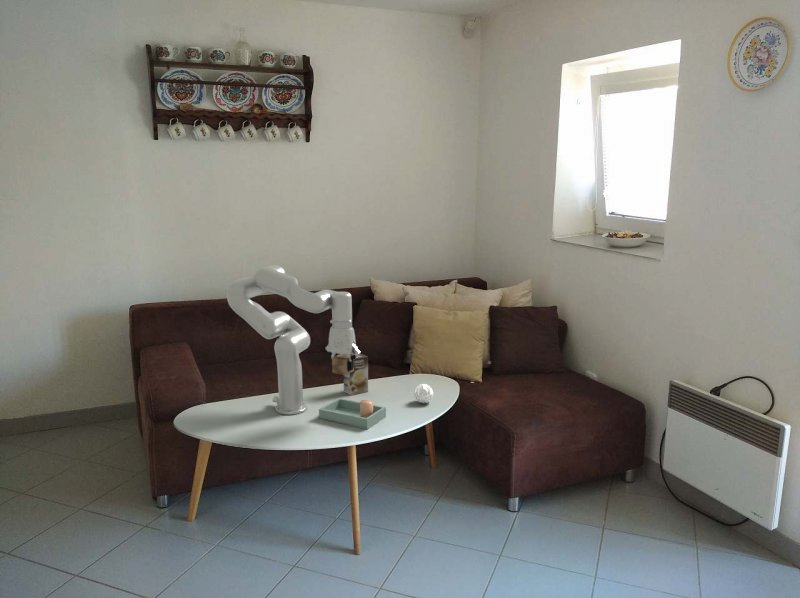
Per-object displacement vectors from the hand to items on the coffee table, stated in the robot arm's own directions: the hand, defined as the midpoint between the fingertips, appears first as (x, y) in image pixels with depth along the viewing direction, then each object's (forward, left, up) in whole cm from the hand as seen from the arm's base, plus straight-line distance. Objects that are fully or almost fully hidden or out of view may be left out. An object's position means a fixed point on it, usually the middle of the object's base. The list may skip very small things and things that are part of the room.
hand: (343, 368), depth 243 cm
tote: (+4, 0, -19) cm, 20 cm away
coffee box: (-11, +26, -20) cm, 34 cm away
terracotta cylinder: (+10, 0, -19) cm, 22 cm away
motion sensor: (+21, +28, -20) cm, 40 cm away
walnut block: (0, 0, -1) cm, 1 cm away
